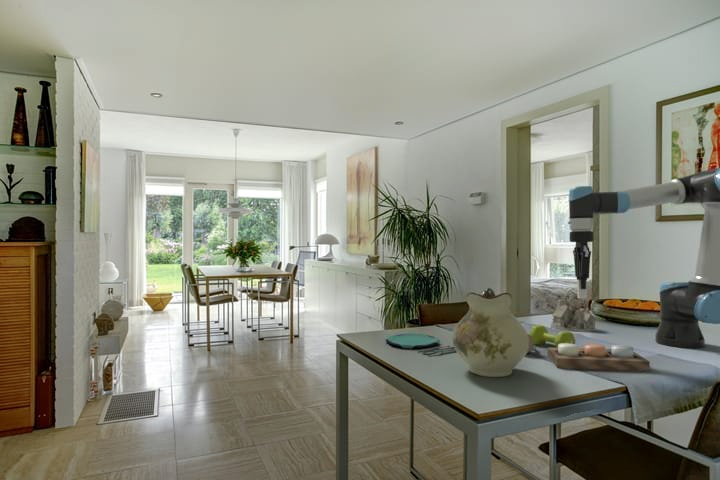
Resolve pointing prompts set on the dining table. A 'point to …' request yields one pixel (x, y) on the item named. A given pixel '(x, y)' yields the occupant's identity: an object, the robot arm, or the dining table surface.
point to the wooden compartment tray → (598, 361)
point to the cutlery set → (418, 343)
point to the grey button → (622, 351)
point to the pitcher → (490, 335)
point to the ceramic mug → (531, 344)
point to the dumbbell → (550, 336)
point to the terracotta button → (595, 350)
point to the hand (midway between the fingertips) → (582, 298)
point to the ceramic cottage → (573, 317)
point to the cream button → (568, 349)
